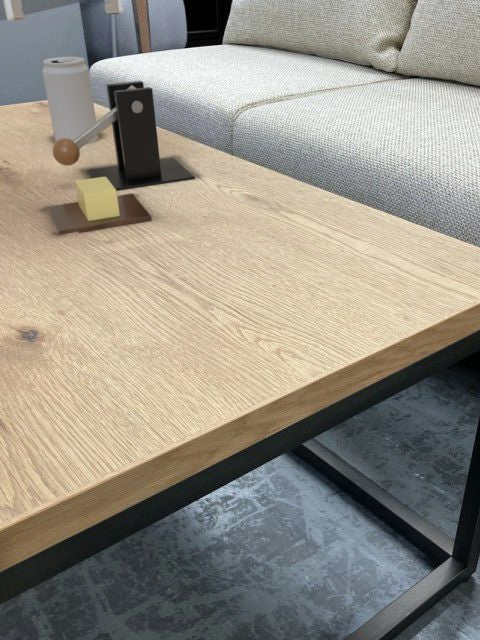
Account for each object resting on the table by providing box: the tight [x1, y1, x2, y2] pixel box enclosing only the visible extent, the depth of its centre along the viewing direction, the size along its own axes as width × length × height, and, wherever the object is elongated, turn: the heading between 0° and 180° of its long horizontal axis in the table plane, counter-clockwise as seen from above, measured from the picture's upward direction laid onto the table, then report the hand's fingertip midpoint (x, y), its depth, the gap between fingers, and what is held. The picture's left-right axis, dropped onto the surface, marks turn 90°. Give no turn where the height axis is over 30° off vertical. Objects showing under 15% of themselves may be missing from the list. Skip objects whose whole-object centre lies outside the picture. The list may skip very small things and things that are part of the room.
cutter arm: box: [52, 85, 136, 167], centre depth 86 cm, size 13×3×3 cm
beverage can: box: [42, 56, 100, 145], centre depth 102 cm, size 6×6×12 cm
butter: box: [74, 177, 120, 221], centre depth 78 cm, size 4×5×3 cm
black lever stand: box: [85, 80, 195, 192], centre depth 88 cm, size 12×9×12 cm
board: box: [46, 193, 152, 235], centre depth 79 cm, size 10×8×2 cm
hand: (66, 16), depth 68 cm, fingers open, 8 cm apart
